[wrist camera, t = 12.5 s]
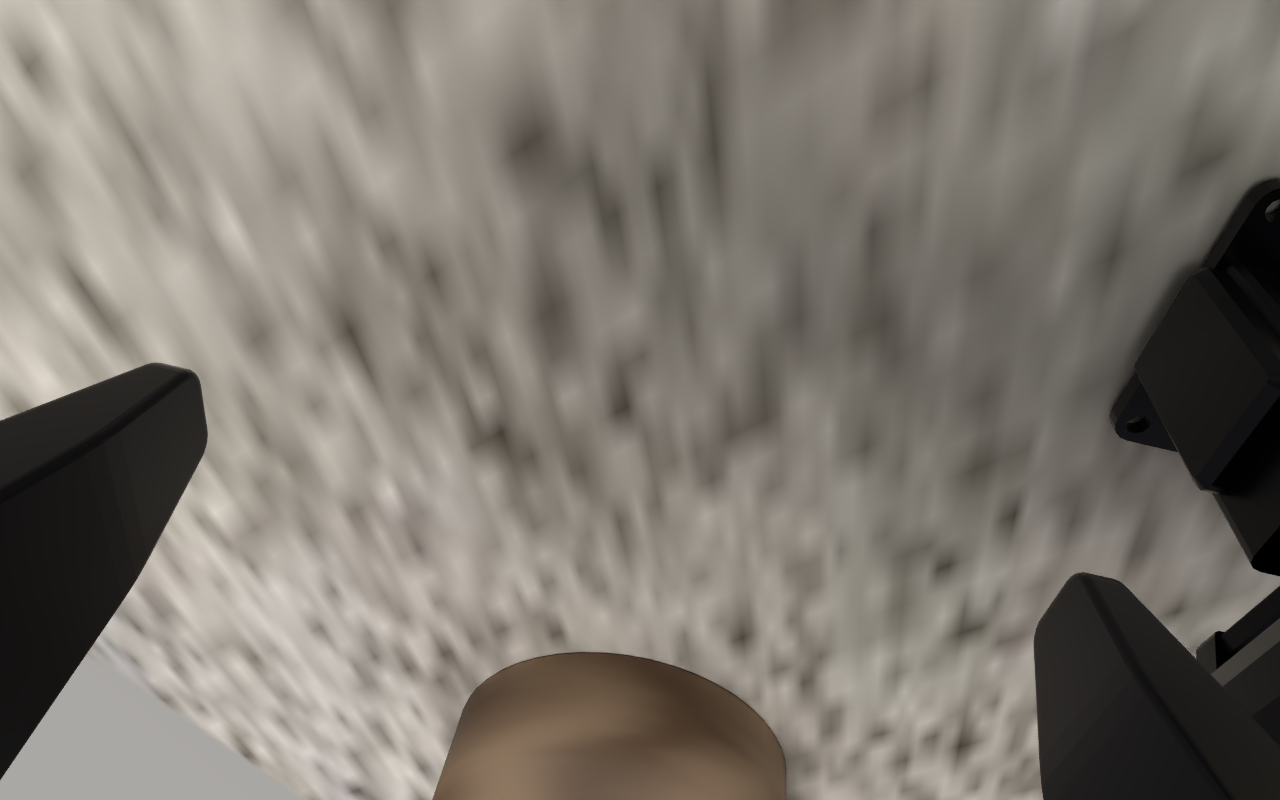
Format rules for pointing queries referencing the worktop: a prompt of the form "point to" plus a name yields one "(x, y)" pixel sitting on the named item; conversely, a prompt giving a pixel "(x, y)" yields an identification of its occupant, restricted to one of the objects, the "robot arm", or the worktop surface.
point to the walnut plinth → (609, 736)
